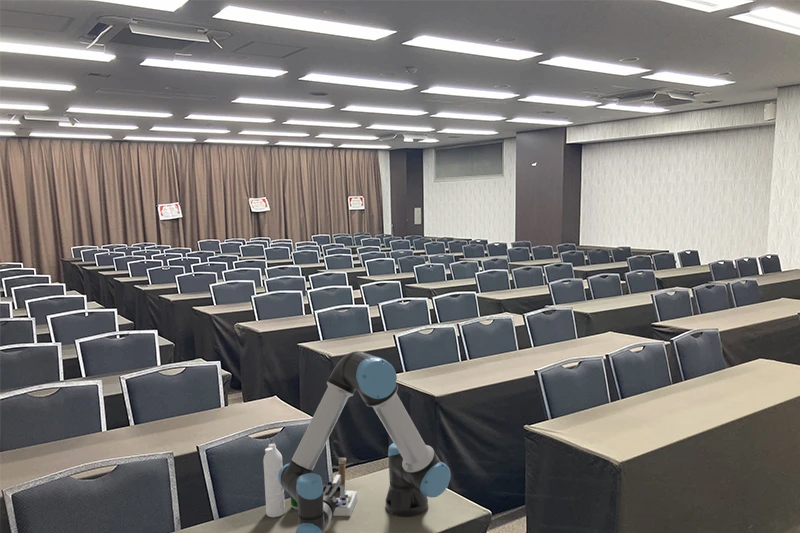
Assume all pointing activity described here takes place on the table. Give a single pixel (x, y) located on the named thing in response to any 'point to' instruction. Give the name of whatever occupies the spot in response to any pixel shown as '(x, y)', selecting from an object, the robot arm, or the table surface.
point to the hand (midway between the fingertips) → (338, 478)
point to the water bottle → (273, 482)
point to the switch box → (350, 503)
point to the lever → (342, 474)
